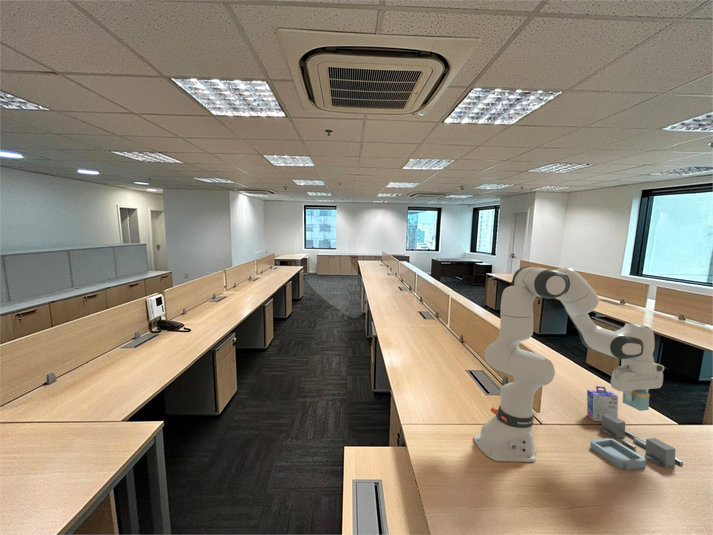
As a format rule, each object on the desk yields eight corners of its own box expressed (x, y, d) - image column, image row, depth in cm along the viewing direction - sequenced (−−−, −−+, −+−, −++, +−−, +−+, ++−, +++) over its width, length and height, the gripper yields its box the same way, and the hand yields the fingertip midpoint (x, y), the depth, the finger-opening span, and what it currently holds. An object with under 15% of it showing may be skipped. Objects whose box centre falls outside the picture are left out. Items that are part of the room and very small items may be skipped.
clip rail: (655, 469, 98) (656, 465, 98) (593, 430, 119) (593, 427, 119) (682, 464, 100) (682, 460, 100) (616, 427, 121) (616, 424, 121)
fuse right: (665, 467, 98) (666, 450, 98) (645, 455, 104) (646, 439, 104) (674, 466, 99) (675, 448, 99) (654, 454, 105) (654, 437, 105)
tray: (623, 470, 97) (624, 463, 97) (588, 446, 109) (588, 440, 109) (647, 466, 99) (648, 460, 99) (610, 443, 111) (611, 437, 111)
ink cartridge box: (610, 417, 129) (611, 386, 129) (618, 423, 124) (619, 392, 123) (585, 414, 132) (586, 384, 131) (592, 420, 126) (593, 389, 126)
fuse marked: (640, 410, 105) (640, 394, 105) (622, 402, 111) (622, 386, 111) (648, 409, 106) (649, 393, 106) (630, 401, 112) (631, 385, 112)
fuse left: (616, 438, 114) (617, 423, 114) (601, 429, 120) (602, 414, 120) (624, 437, 115) (625, 422, 115) (609, 428, 121) (609, 414, 120)
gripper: (623, 370, 103) (622, 406, 104) (667, 366, 107) (666, 401, 107) (606, 363, 110) (604, 397, 110) (648, 360, 113) (646, 393, 113)
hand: (635, 399), depth 109 cm, fingers closed on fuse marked, 4 cm apart
